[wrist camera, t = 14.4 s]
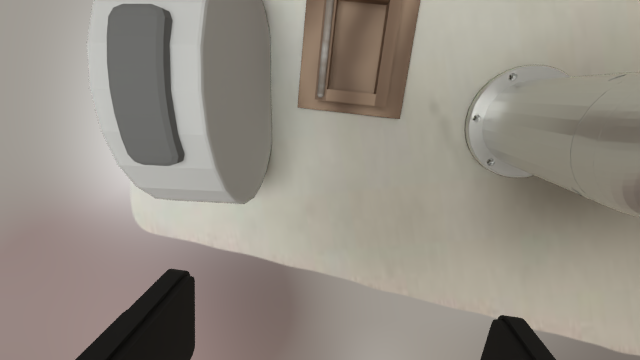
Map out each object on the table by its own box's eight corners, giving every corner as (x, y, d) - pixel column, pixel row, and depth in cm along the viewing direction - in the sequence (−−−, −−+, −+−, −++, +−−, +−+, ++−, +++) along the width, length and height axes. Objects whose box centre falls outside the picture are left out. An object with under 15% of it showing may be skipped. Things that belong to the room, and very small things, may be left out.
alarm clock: (204, -8, 35) (38, -126, 16) (269, -7, 35) (177, -129, 16) (216, 175, 41) (104, 245, 22) (272, 177, 40) (207, 252, 21)
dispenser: (420, -15, 33) (432, -31, 29) (398, 118, 37) (405, 121, 33) (309, -25, 34) (304, -43, 29) (298, 106, 38) (292, 108, 33)
